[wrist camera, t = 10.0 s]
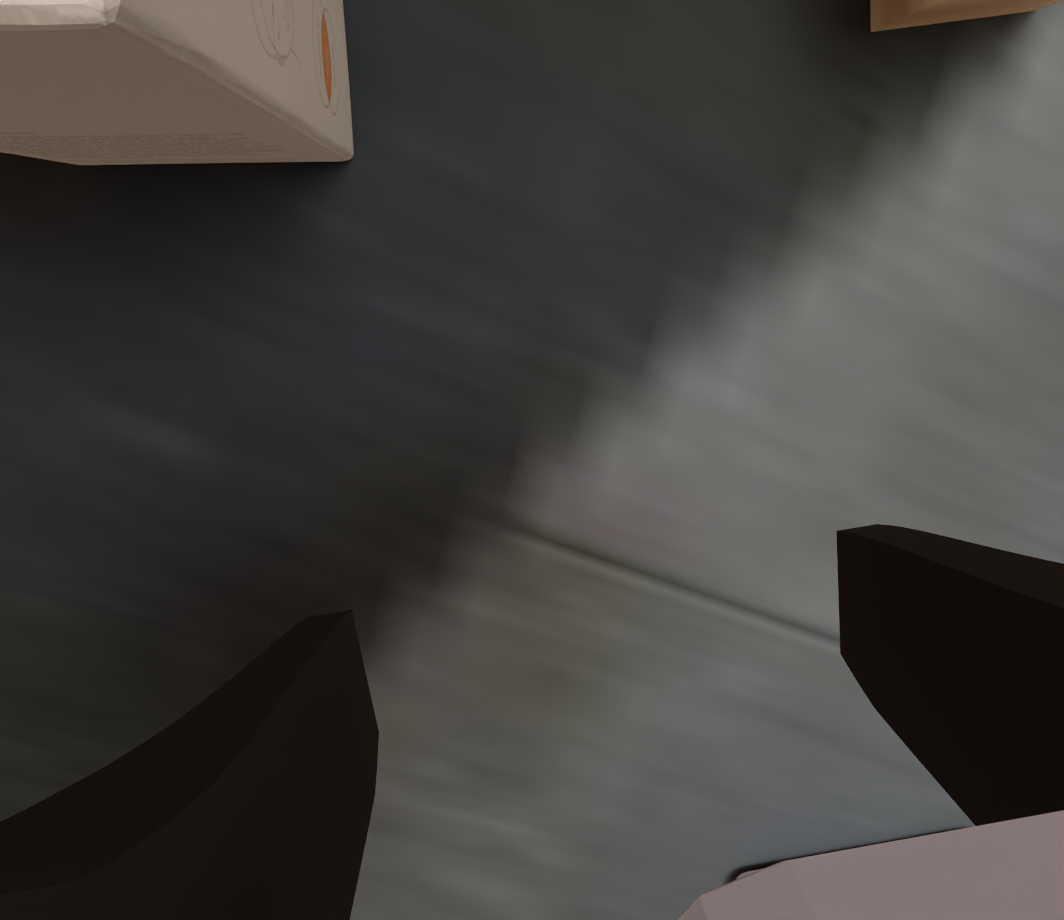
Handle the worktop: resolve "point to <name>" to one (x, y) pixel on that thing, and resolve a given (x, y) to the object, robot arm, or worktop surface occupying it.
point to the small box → (174, 81)
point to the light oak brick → (943, 11)
